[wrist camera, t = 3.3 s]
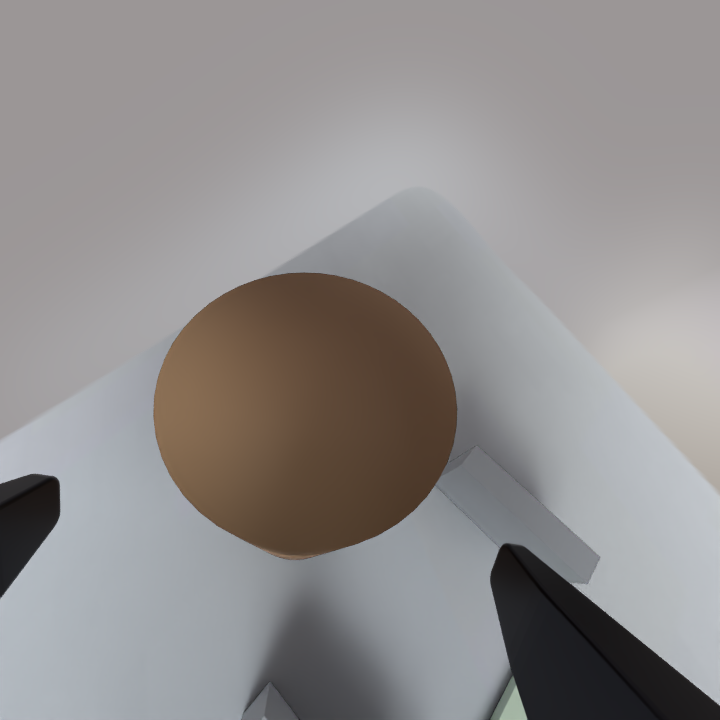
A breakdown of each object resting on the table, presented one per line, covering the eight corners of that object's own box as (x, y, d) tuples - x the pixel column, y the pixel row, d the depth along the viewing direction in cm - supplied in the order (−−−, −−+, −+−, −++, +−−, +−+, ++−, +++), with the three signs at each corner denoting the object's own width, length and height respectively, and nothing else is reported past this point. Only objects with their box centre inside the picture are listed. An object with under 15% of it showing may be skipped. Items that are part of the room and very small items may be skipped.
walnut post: (294, 588, 15) (306, 648, 4) (217, 496, 16) (85, 374, 6) (376, 497, 17) (508, 394, 7) (303, 422, 18) (322, 237, 8)
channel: (365, 885, 11) (393, 1001, 8) (243, 714, 13) (228, 761, 10) (545, 558, 17) (600, 557, 14) (446, 464, 18) (476, 445, 15)
